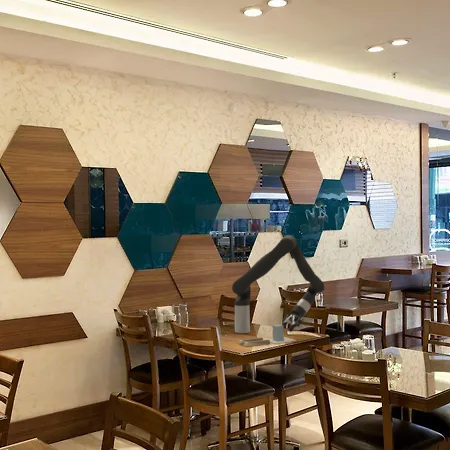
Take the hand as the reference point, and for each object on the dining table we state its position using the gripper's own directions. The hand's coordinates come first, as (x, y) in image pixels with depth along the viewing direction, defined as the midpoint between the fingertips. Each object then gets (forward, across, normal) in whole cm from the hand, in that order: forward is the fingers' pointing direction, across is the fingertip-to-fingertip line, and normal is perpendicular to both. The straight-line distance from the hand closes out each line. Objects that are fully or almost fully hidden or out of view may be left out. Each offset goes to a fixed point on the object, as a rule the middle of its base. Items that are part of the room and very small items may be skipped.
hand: (285, 329), depth 339 cm
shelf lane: (+19, 0, -11) cm, 22 cm away
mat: (+7, 0, +1) cm, 7 cm away
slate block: (+7, 0, 0) cm, 7 cm away
